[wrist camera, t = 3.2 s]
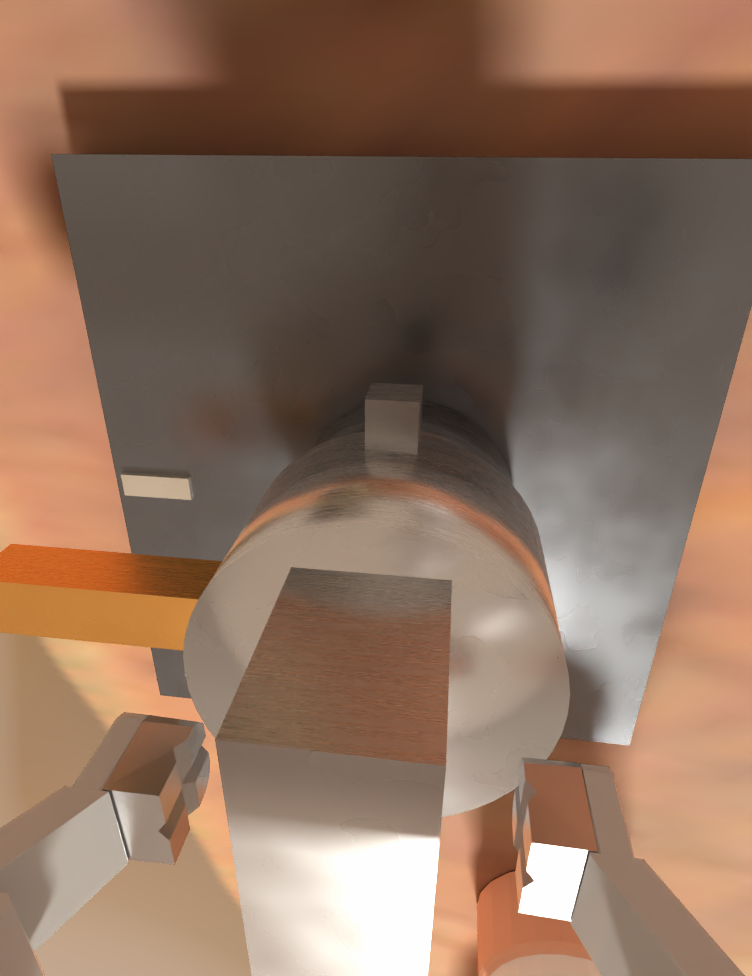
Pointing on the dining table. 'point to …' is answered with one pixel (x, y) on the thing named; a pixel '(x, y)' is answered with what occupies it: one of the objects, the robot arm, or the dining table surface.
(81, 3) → the dining table surface
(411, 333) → the post plate
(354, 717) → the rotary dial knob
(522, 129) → the dining table surface
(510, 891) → the pepper shaker
